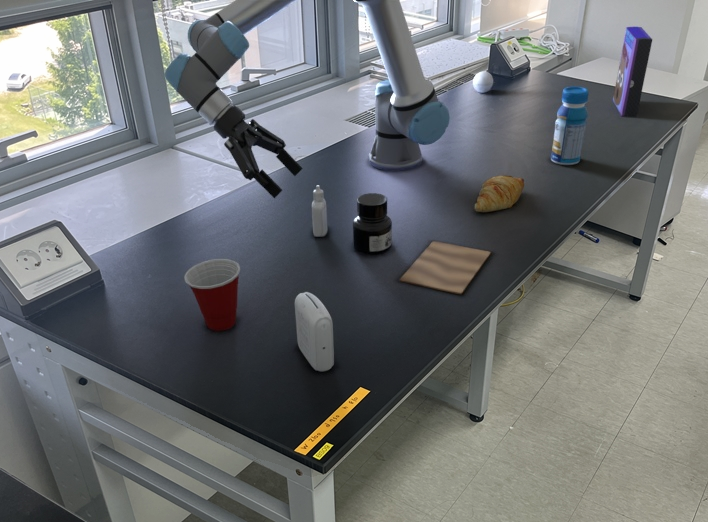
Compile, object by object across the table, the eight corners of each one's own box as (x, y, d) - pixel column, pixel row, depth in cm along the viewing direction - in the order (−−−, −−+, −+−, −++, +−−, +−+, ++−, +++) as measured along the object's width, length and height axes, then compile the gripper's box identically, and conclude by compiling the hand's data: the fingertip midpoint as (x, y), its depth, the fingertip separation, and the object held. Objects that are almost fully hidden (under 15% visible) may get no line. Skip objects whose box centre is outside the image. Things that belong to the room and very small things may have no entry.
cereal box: (612, 100, 252) (626, 26, 238) (627, 100, 252) (641, 26, 238) (621, 116, 238) (636, 38, 224) (636, 116, 238) (652, 38, 224)
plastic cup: (195, 311, 149) (185, 259, 142) (247, 307, 150) (241, 255, 143) (190, 340, 140) (180, 287, 133) (246, 336, 141) (239, 282, 134)
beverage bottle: (573, 168, 204) (585, 95, 192) (545, 162, 208) (554, 91, 197) (584, 158, 209) (597, 87, 198) (557, 153, 214) (567, 83, 202)
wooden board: (433, 242, 170) (433, 240, 170) (490, 253, 165) (491, 251, 165) (399, 281, 156) (399, 279, 156) (461, 294, 151) (461, 293, 150)
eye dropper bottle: (334, 230, 177) (332, 183, 170) (320, 239, 174) (318, 191, 167) (320, 226, 179) (317, 179, 172) (306, 234, 176) (303, 188, 169)
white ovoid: (468, 93, 265) (470, 72, 261) (477, 88, 270) (478, 68, 265) (494, 97, 260) (495, 76, 256) (502, 92, 265) (504, 71, 261)
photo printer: (337, 368, 131) (335, 310, 124) (315, 374, 130) (312, 316, 123) (315, 339, 139) (312, 283, 132) (295, 345, 138) (290, 289, 130)
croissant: (484, 230, 182) (500, 208, 175) (456, 204, 184) (470, 181, 177) (527, 201, 194) (543, 179, 188) (500, 177, 196) (514, 154, 190)
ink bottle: (378, 260, 164) (378, 211, 157) (345, 251, 168) (344, 203, 161) (399, 242, 171) (399, 195, 164) (366, 234, 175) (366, 187, 168)
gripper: (236, 109, 178) (297, 173, 183) (189, 144, 159) (259, 214, 164) (253, 88, 174) (316, 154, 179) (208, 121, 155) (279, 194, 160)
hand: (289, 183), depth 171 cm, fingers open, 13 cm apart
